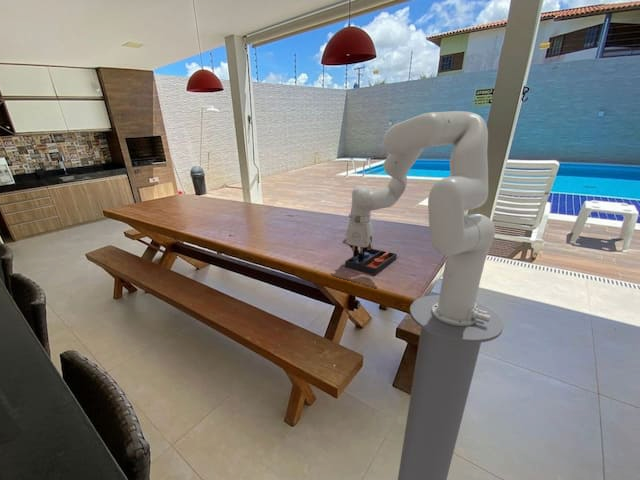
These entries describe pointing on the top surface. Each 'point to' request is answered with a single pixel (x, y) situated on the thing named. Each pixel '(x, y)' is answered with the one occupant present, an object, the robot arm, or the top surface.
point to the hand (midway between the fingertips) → (358, 260)
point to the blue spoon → (366, 255)
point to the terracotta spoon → (381, 259)
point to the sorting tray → (371, 262)
